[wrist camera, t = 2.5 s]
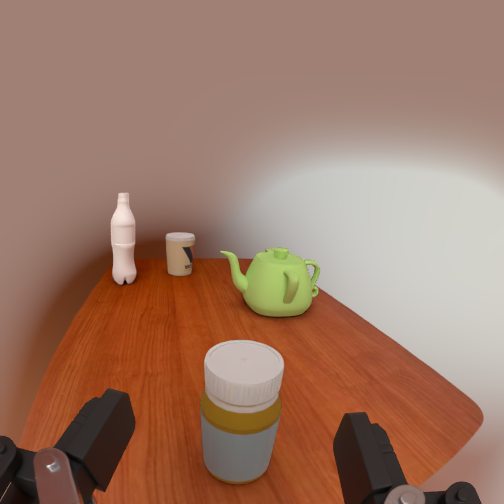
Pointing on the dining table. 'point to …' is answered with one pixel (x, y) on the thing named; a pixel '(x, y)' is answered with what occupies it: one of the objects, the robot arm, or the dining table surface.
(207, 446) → the bottle
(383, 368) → the dining table surface
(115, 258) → the water bottle
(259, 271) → the teapot
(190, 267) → the coffee cup
